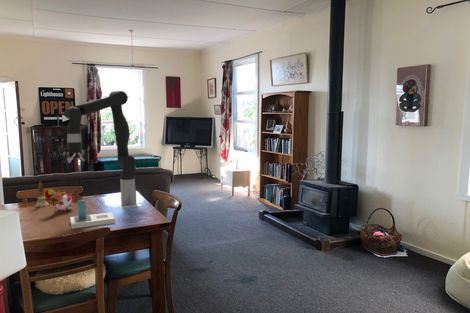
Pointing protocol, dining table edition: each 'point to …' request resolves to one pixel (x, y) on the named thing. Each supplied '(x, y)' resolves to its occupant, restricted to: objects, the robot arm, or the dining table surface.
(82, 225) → the well board
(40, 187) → the hand bell
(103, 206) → the dining table surface
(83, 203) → the teal block
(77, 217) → the slate pad
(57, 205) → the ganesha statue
